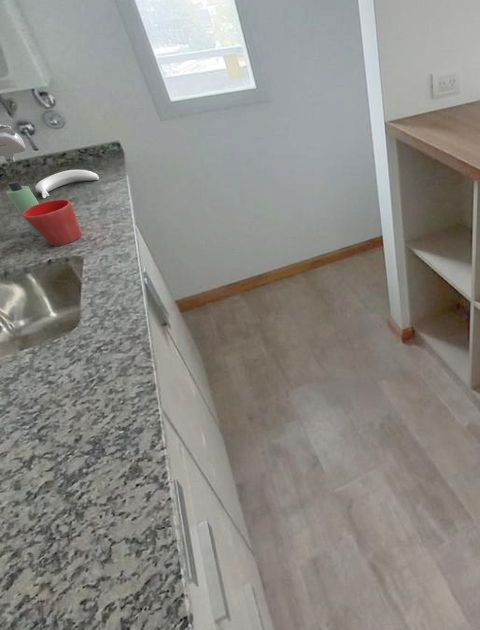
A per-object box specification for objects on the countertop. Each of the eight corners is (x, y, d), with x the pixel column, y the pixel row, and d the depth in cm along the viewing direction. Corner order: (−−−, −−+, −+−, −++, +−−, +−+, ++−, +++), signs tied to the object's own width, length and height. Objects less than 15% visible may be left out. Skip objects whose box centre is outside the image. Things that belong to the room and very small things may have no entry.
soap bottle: (34, 237, 127) (-1, 187, 118) (35, 231, 131) (2, 182, 122) (54, 232, 129) (22, 182, 120) (55, 225, 133) (24, 177, 123)
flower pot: (88, 240, 123) (68, 208, 117) (42, 252, 119) (19, 219, 113) (89, 227, 130) (70, 195, 124) (45, 238, 126) (24, 206, 120)
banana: (101, 175, 168) (96, 188, 157) (45, 189, 163) (36, 203, 152) (93, 162, 165) (88, 174, 154) (36, 176, 160) (27, 189, 149)
